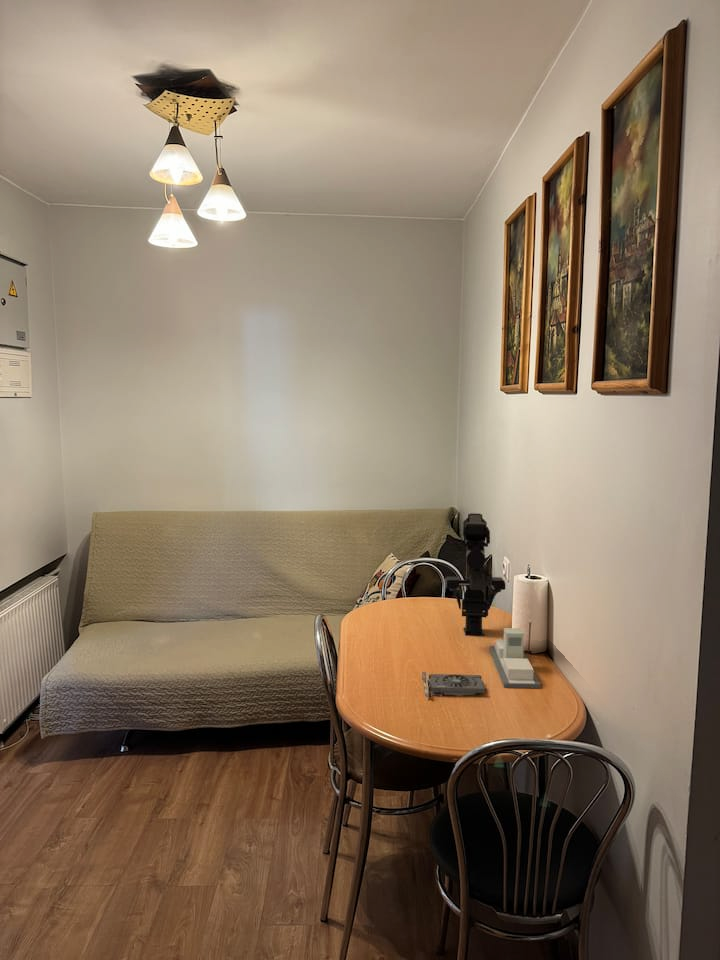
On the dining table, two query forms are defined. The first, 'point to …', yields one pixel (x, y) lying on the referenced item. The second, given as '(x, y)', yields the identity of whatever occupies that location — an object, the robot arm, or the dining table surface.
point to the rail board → (503, 677)
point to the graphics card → (453, 684)
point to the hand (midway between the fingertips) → (474, 609)
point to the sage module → (513, 643)
